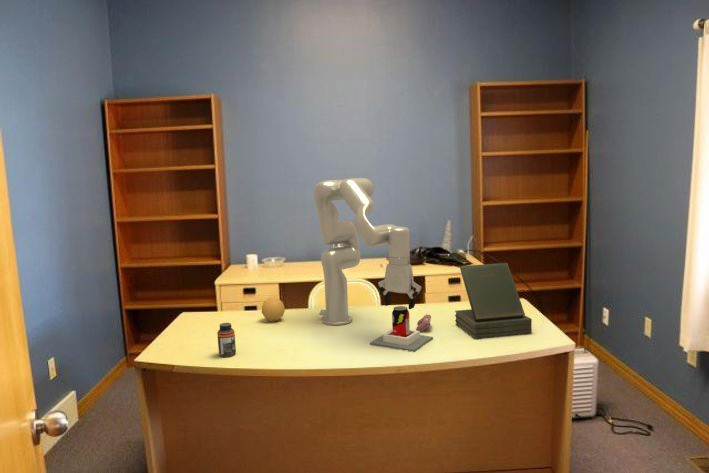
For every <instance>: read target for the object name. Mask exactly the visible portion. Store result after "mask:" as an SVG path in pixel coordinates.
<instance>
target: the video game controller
mask: <svg viewBox="0 0 709 473" xmlns="http://www.w3.org/2000/svg"><path fill="white" fill-rule="evenodd" d="M431 319H432V316H431V314H427V313H426V314H424V316H423V317H422V318H420V319H419V320H418V321H417V322H416V324H417V326H416V328H415V331H420V333H422V332H424V331H426V330H427V329H428V328H429V327H431V325H432V324H431Z"/></svg>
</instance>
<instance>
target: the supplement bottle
mask: <svg viewBox="0 0 709 473" xmlns="http://www.w3.org/2000/svg"><path fill="white" fill-rule="evenodd" d="M216 334H217V345H218V355H219V356H220V357H221V358H231V357H233V356H235V355H236V354H237V350H236V347H237V346H236V337H235V336H236V334H235V330H234V328H232V323H231V322H221V323H220V324H219V330H217V333H216Z"/></svg>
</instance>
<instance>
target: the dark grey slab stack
mask: <svg viewBox="0 0 709 473" xmlns="http://www.w3.org/2000/svg"><path fill="white" fill-rule="evenodd" d="M459 270H460V274H461V277H462V280H463V284H464V288H465V290H466V295H467V298H468V301H469V305H470V309H462V310H461V309H459V310H457V309H456V310H454V312H455V314H454V317H455V320H454V321H455V325H456V326H457V327H458V328H459V329H460V330H462V331H463V332H465V333H466V334H467V335H469V336H470V337H471V338H472V339H473V340H483V339H492V338H504V337H515V336H523V335H525V336H526V335H532V318H530V317H529V316H527V315H525V314H526V313H525V311H524V308H523V305H522V302H521V298H520V296H519V293H518V290H517V287H516V285H515V281H514V279H513V276H512V273H511V269H510V267H509V264H508V262H500V263H487V264H471V265H460V267H459Z"/></svg>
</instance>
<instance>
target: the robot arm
mask: <svg viewBox="0 0 709 473" xmlns="http://www.w3.org/2000/svg"><path fill="white" fill-rule="evenodd" d="M373 193H374V184H373V183H372V181H371V180H370V179H368V178H366V177H356V178H355V177H354V178H353V177H352V178H347V179H329V180H322V181H320V182H318V183H317V184H316V186H315V187H314V189H313V202H314V205H315V207H316V211H317V215H318V221H319V228H320V229H319V230H320V235H321V241H322V242H323V244H325V245H327V246H331V245H332V246H333V245H340V244H341V245H342V246H338V247H332V248H328V249H325V250H324V251H323V252H322V254H321V257H320V264H321V267H322V270H323V280H324V292H325V293H324V295H325V296H324V298H325V299H324V300H325V309H320V311H319V313H318V314H319V315H320V316H323V318H322V323H323V324H324V325H328V326H343V325H347V324H350V323H351V322H353V317H352V316H350V315H349V303H348V302H349V301H348V300H349V299H348V298H349V296H348V280H347V277H346V275H345V273H344V271H343V270H346V269H351V268H352V269H353V268H355V267H357V266H359V264H360V262H361V250H360V249H361V248H360V243H359V237H360V238H361V240H363V243H365V244H366V245H367V246H368V247H373V248H374V247H380V246H387V245H388V256H386V257H385V260H386V261H388V263H387V264H386V267H385V271H384V272H385V274H384V279H381V281H378V282H377V283H378V284H377V285H378V287H379V289H380V291H381V292H382V294H383V296H384V305H385V307H387V306H389V305H391V304H392V299H391V298H392V294H391V293H390V292H392V293H396V294H397V293H398V294H407V295H408V297H409V298H408V310H412V309H414V308H415V305H416V297H417V296H418V295H419V294H420V292H421V290H422V286H421V285H419V283H417V282H415V281H414V272H413V267H412V264H411V260H410V259H411V257H410V254H411V252H410V251H411V250H410V248H411V247H410V245H411V244H410V243H411V242H410V236H411V234H410V233H411V232H410V229H409V228H408V227H406V226H398V225H395V224H392V223H389V224H388V223H387V224H381V225H380V224H379V225H372V223H370V222H369V220H368V218H367V217H368V216H369V215H371V213H372V212H373V211H374V210H375V202H374V201H373V200H372V198H371V197H372V196H373ZM333 201H345V203H346V204H347V205H348V206H349V208H350V209H351V210H352V212H353V213H354V214H355V217H354V223H353V222H351V221H350V220H340V217H339V216H340V214H339V210H338V208H337V206H336V205H335V204H334V203H333ZM358 235H359V236H358ZM414 288H415V291H414Z"/></svg>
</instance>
